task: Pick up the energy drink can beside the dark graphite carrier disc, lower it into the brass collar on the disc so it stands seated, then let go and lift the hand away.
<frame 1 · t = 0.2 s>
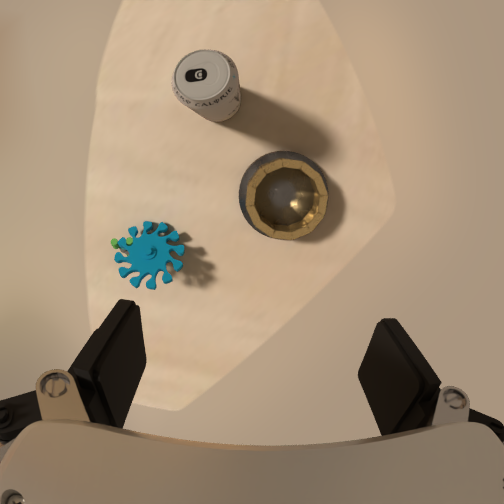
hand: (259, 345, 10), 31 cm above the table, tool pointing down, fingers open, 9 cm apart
carrier: (283, 194, 39), on the table
energy drink can: (218, 101, 34), on the table
gear: (153, 243, 41), on the table
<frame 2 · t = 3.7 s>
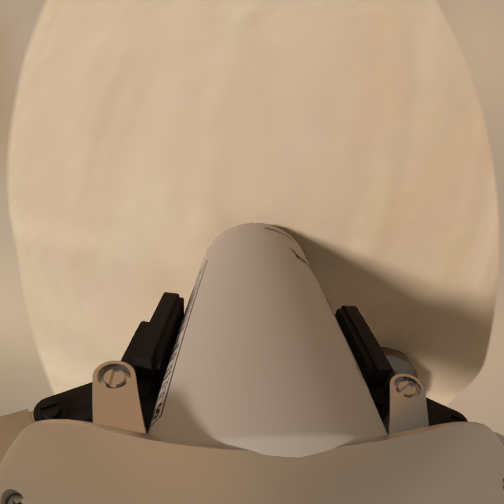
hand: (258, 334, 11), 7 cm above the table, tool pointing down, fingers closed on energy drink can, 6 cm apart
carrier: (352, 397, 22), on the table
energy drink can: (254, 266, 17), on the table, touching gripper
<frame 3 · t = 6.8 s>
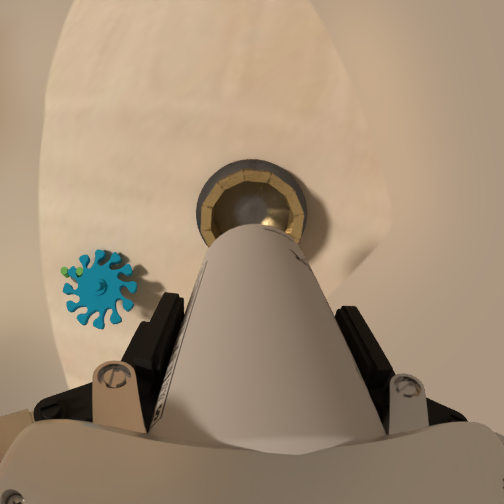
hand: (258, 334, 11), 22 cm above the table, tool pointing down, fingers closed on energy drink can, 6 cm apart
carrier: (251, 212, 32), on the table
energy drink can: (254, 267, 17), point 16 cm above the table, touching gripper
gear: (108, 273, 35), on the table
when the fingers open (9 cm above the table, at t = 10.1 s): energy drink can drops 1 cm, resting on carrier.
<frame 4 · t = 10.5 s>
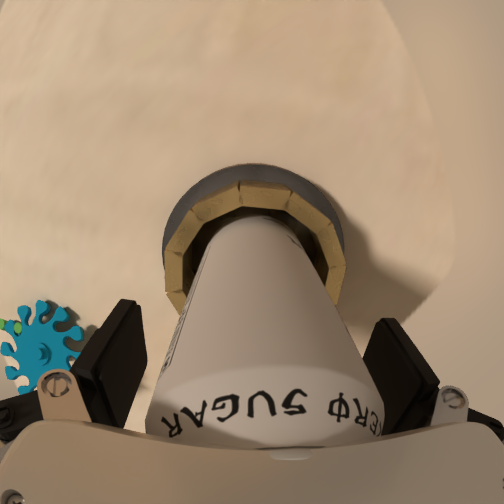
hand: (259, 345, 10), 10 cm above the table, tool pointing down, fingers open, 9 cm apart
carrier: (253, 251, 20), on the table
energy drink can: (253, 256, 19), point 1 cm above the table, touching carrier
gear: (56, 328, 23), on the table
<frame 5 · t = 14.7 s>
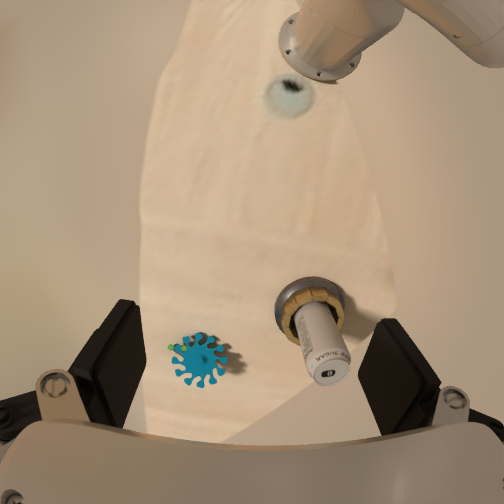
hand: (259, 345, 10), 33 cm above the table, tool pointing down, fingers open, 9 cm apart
carrier: (308, 307, 48), on the table
energy drink can: (310, 311, 47), point 1 cm above the table, touching carrier
gear: (199, 345, 51), on the table
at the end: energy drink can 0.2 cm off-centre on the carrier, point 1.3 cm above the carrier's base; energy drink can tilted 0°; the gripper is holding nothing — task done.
